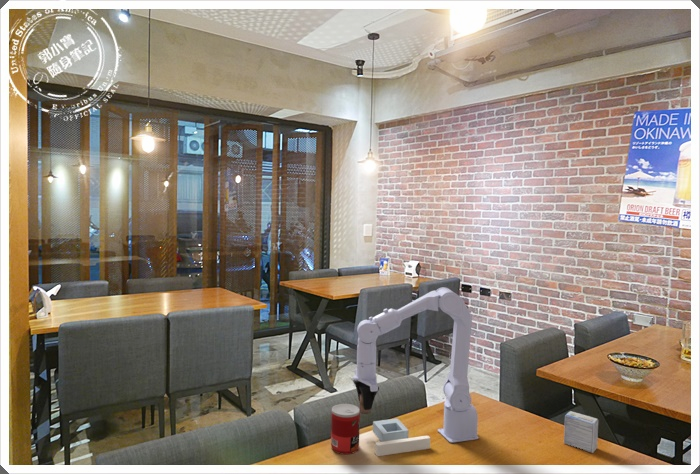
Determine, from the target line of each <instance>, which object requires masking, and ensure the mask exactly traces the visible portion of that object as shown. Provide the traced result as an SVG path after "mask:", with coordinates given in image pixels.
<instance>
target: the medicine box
mask: <svg viewBox="0 0 700 474" xmlns="http://www.w3.org/2000/svg"><path fill="white" fill-rule="evenodd" d="M598 433H599V419H598V418H596V417H593V416H590V415H586V414H582V413H579V412H576V411H571V410H570V411H568V412H567V413H566V414H565V415H564V433H563V434H564V435H563V444H564V443H565V445H567V444H568V446H570V445H571V447H573V446H574V448H576V447H577V449H579V448H580V450H582V449H583V450H582V451H586V452H588V453H591V454H594V453H595V451H597V449H598V437H599V436H598Z"/></svg>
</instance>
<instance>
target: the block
mask: <svg viewBox="0 0 700 474" xmlns="http://www.w3.org/2000/svg"><path fill="white" fill-rule="evenodd" d="M409 431H410V430H409V429H408V428H407V426H405V425H404V424H403V423H402V421H401V420H400V419H399V418H391V419H389V418H388V419H382V420H373V421H372V432H373V433H374V435H375V436H376V437H377V439H378V440H379V442H384V441H391V440H398V439H405V438H409Z"/></svg>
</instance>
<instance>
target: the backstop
mask: <svg viewBox="0 0 700 474" xmlns="http://www.w3.org/2000/svg"><path fill="white" fill-rule="evenodd" d="M428 449H431V437H430V436H429V435H428V434H427V435H421V436H414V437H408V438H405V439H398V440H391V441H384V442H381V441H377V442H374V454H375V456H376V457H381V456H383V457H384V456H389V455H396V454H402V453H408V452H416V451H423V450H428Z"/></svg>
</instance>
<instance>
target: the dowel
mask: <svg viewBox="0 0 700 474" xmlns="http://www.w3.org/2000/svg"><path fill="white" fill-rule="evenodd" d="M358 408H359V409H360V414H363V415H368V414H370V413H371V412H372V408H371V409H370V410H364V407H363V398H362V393H361V394H360V403H359V407H358Z"/></svg>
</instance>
